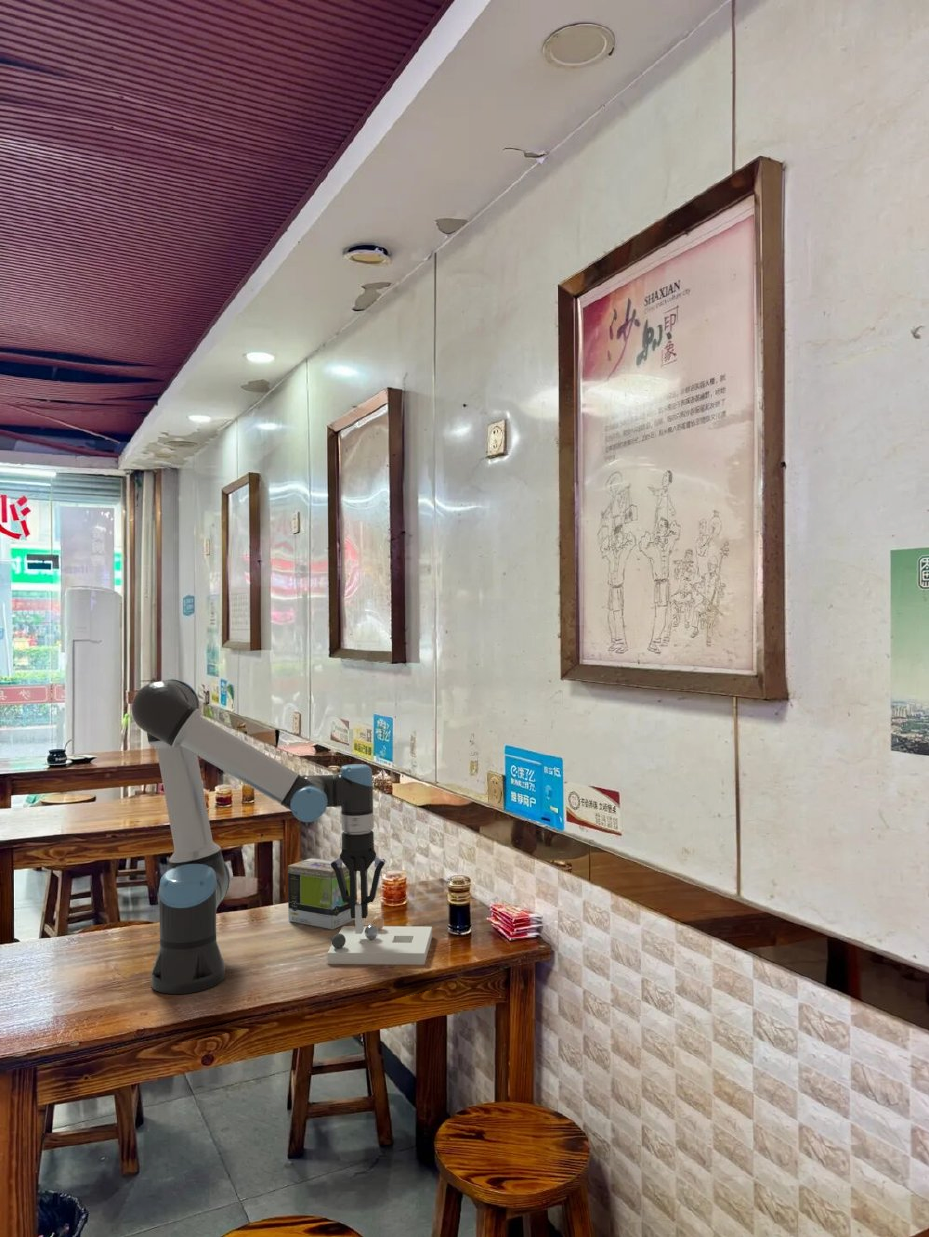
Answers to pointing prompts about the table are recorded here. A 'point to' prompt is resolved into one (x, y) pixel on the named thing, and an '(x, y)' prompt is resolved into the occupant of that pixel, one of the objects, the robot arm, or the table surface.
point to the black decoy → (338, 940)
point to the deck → (383, 946)
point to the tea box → (317, 894)
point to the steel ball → (371, 932)
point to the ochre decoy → (378, 922)
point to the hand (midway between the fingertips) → (359, 931)
